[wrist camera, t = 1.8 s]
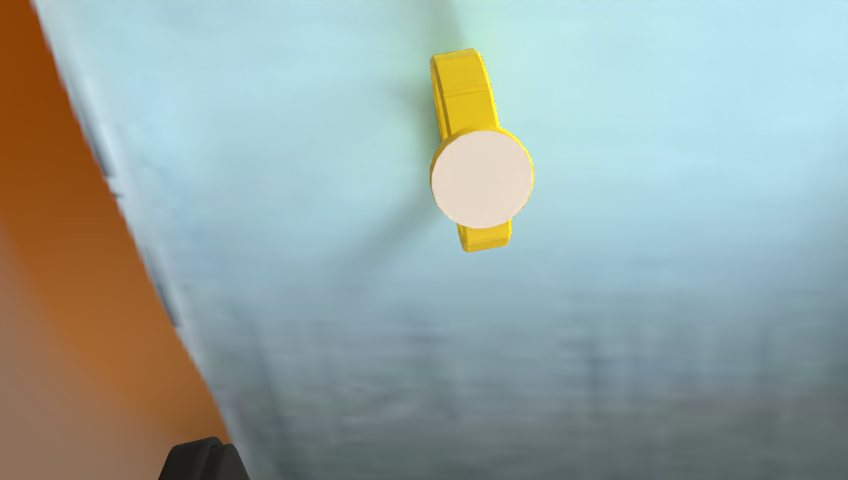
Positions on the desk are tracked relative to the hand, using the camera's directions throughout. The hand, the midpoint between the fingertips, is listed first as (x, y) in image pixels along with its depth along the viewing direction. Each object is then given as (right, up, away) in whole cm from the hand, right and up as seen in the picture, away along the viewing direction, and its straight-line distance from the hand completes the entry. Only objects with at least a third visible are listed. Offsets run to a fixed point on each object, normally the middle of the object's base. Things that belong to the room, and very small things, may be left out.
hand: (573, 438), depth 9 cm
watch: (-1, +7, +14) cm, 16 cm away
